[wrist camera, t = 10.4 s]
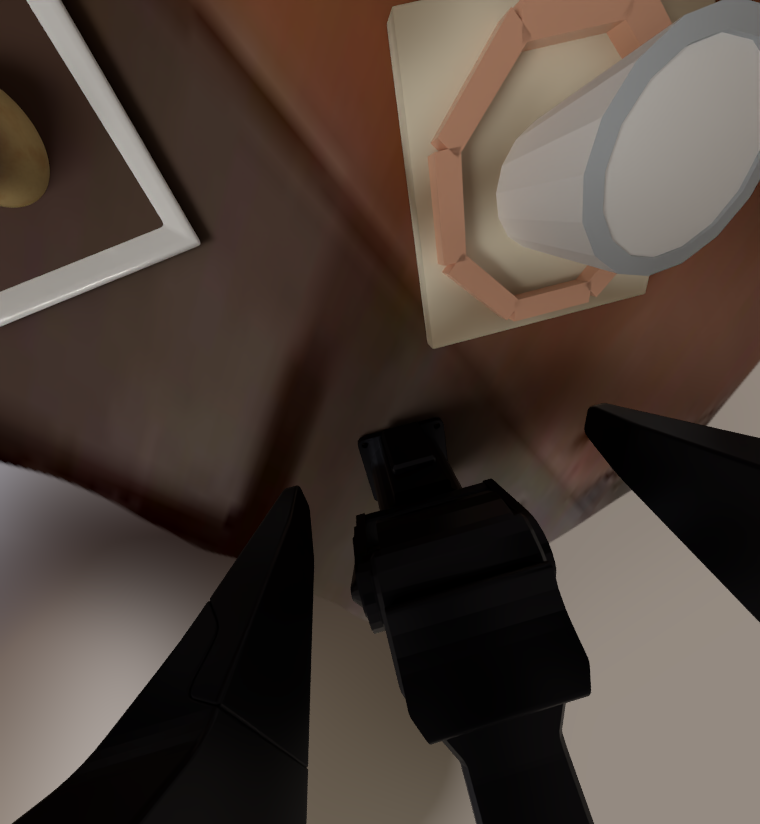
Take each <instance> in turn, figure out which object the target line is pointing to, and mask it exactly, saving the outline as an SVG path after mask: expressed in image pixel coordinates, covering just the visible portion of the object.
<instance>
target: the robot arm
mask: <svg viewBox="0 0 760 824" xmlns="http://www.w3.org/2000/svg"><path fill="white" fill-rule="evenodd" d="M436 423H438V425H436V426H434V425H435V424H436ZM584 430H585V433H586V435H587V437H588V438H589V439H590V441H591V442H592V443H593V445H594V446H595V447H596V448H597V450H598V451H599V452H600V453H601V455H602V456H603V457H604V458H605V460H606V461H607V462H608V463H609V465H610V466H611V467H612V469H613V470H614V471H615V472H616V473H617V475H618V476H619V477H620V478H621V479H622V480H623V481H624V482H625V483H626V484H627V485H628V486H629V487H630V488H631V489H632V490H633V491H634V493H636V495H637V496H638V497H639V498H640V499H641V500H642V501H643V502H644V503H645V504H646V505H647V506H648V507H649V508H650V509H651V510H652V511H653V512H654V513H655V514H656V515H657V516H658V517H659V518H660V519H661V521H662V522H663V523H664V524H665V525H666V526H668V528H669V529H670V530H671V531H672V532H673V533H674V534H675V535H676V536H677V537H678V538H679V539H680V540H681V541H682V542H683V543H684V544H685V545H686V546H687V547H688V549H689V550H690V551H691V552H692V553H693V554H694V555H695V556H696V557H697V558H698V559H699V560H700V561H701V562H702V563H703V564H704V565H705V566H706V567H707V568H708V569H709V570H710V571H711V572H712V573H713V574H714V575H715V576H716V578H717V579H719V580H720V582H721V583H722V584H723V585H724V586H725V587H726V588H727V589H728V590H729V591H730V592H731V593H732V594H733V595H734V596H735V597H736V598H737V599H738V600H739V601H740V602H741V603H742V604H743V606H744V607H745V608H746V609H747V610H748V611H749V612H750V613H751V614H752V615H753V616H754V617H755V618H756V619H757V620H758V621H759V622H760V438H757V437H753V436H748V435H744V434H739V433H735V432H731V431H726V430H722V429H717V428H712V427H708V426H704V425H700V424H695V423H691V422H686V421H682V420H677V419H673V418H669V417H664V416H660V415H655V414H651V413H647V412H642V411H638V410H633V409H629V408H624V407H620V406H616V405H611V404H607V403H601V404H597V405H594V406H591V407H590V408H589V409H588V411H587V416H586V422H585V427H584ZM363 443H367V444H366V445H362V444H363ZM358 448H359V451H360V454H361V457H362V461H363V464H364V467H365V470H366V473H367V477H368V480H369V483H370V486H371V490H372V493H373V496H374V499H375V500H376V501H378V504H379V509H380V511H377V512H373V513H370V514H366V515H365V513H363V514H360V515H356V527H354V537H353V546H354V556H355V565H354V571H353V577H352V583H351V595H352V599H353V601H354V602H356V603H357V604H358V605H360V606H361V607H362V608H363V609H364V612H365V615H366V617H367V618H368V620H369V623H370V626H371V629H372V631H373V633H379V632H382V631H386V634H387V638H388V642H389V646H390V650H391V654H392V659H393V662H394V667H395V670H396V675H397V679H398V683H399V687H400V690H401V693H402V694H403V696H404V697H405V699H406V703H407V708H408V712H409V715H410V717H411V719H412V721H413V722H414V723H415V725H416V726H417V728H418V729H419V730H420V732H421V734H422V735H423V736H424V738H425V739H426V741H427V742H428V743H429V744H434V743H437V742H440V741H443V743H444V744H445V745H446V746H447V747H448V748H449V749H450V751H451V752H452V753H453V754H454V755H455V756H456V758H457V759H458V760H459V761H460V763H461V767H462V771H463V775H464V779H465V782H466V786H467V790H468V794H469V797H470V802H471V805H472V809H473V813H474V816H475V821H476V824H594V822H593V820H592V817H591V814H590V811H589V808H588V805H587V803H586V800H585V797H584V794H583V791H582V789H581V786H580V783H579V780H578V777H577V775H576V772H575V769H574V766H573V763H572V761H571V758H570V755H569V752H568V749H567V746H566V743H565V740H564V737H563V734H562V725H563V718H564V711H565V704H566V703H567V702H570V701H574V700H577V699H580V698H583V697H586V696H589V695H590V693H591V682H590V665H589V660H588V657H587V655H586V653H585V651H584V648H583V646H582V644H581V642H580V640H579V638H578V636H577V633H576V631H575V629H574V627H573V625H572V622H571V620H570V618H569V616H568V613H567V611H566V609H565V606H564V603H563V600H562V597H561V595H560V592H559V589H558V585H557V581H556V566H555V561H554V557H553V553H552V551H551V548H550V546H549V543H548V541H547V539H546V537H545V534H544V532H543V531H542V529H541V527H540V526H539V524H538V522H537V521H536V520H535V518H534V517H533V516H532V515H531V514H530V513H529V511H528V510H526V509H525V508H524V507H523V506H522V505H521V504H520V503H519V502H517V501H516V500H515V499H514V498H513V497H512V496H511V495H510V494H508V493H507V492H506V491H505V490H504V489H503V488H502V487H501V486H499V485H498V484H497V483H496V482H495V481H494V480H493V479H488V480H484V481H483V483H479V484H475V485H472V486H468V487H465V488H462V487H461V485H460V483H459V481H458V479H457V478H456V476H455V474H454V472H453V470H452V468H451V467H450V465H449V463H448V460H447V451H446V442H445V434H444V425H443V422H442V421H441V419H440V418H432V419H428V420H424V421H420V422H417V423H411V424H407V425H404V426H400V427H396V428H392V429H389V430H385V431H383V432H380V433H376V434H372V435H369V436H365V437H362V438H360V439H359V440H358ZM313 583H314V553H313V541H312V530H311V518H310V509H309V505H308V503H307V501H306V498H305V496H304V494H303V492H302V490H301V488H300V487H299V486H293V487H289V488H286V489H284V491H283V492H282V493H281V495H280V496H279V498H278V499H277V501H276V502H275V504H274V505H273V507H272V508H271V509H270V511H269V512H268V514H267V515H266V517H265V518H264V520H263V521H262V523H261V524H260V526H259V527H258V529H257V530H256V532H255V533H254V534H253V536H252V537H251V539H250V540H249V542H248V543H247V545H246V546H245V548H244V549H243V551H242V552H241V554H240V555H239V556H238V558H237V559H236V561H235V563H234V564H233V566H232V567H231V568H230V570H229V571H228V573H227V574H226V576H225V577H224V579H223V580H222V582H221V583H220V584H219V586H218V587H217V589H216V590H215V592H214V593H213V595H212V596H211V598H210V601H208V602H207V603H206V605H205V606H204V608H203V609H202V611H201V612H200V614H199V615H198V617H197V618H196V619H195V621H194V622H193V624H192V625H191V626H190V628H189V629H188V631H187V632H186V633H185V635H184V636H183V638H182V639H181V641H180V642H179V643H178V645H177V646H176V647H175V649H174V650H173V651H172V653H171V654H170V655H169V656H168V658H167V659H166V660H165V662H164V663H163V664H162V666H161V667H160V668H159V670H158V671H157V672H156V673H155V675H154V676H153V677H152V679H151V680H150V681H149V682H148V684H147V685H146V686H145V687H144V689H143V690H142V691H141V693H140V694H139V695H138V697H137V698H136V699H135V700H134V702H133V703H132V704H131V705H130V707H129V708H128V709H127V710H126V712H125V713H124V714H123V716H122V717H121V718H120V720H119V721H118V722H117V723H116V725H115V726H114V727H113V728H112V730H111V731H110V732H109V734H108V735H107V736H106V737H105V739H104V740H103V741H102V742H101V743H100V745H99V746H98V747H97V749H96V750H95V751H94V752H93V753H92V754H91V755H90V756H89V758H88V759H87V760H86V761H85V762H84V763H83V764H82V765H81V766H80V767H79V768H78V769H77V770H76V771H75V772H74V773H73V774H72V775H71V776H70V777H69V778H68V779H67V780H66V781H65V782H63V783H62V784H61V785H60V786H59V787H58V788H57V789H55V790H54V791H53V792H52V793H51V794H50V795H48V796H47V797H46V798H44V799H43V800H42V801H40V802H39V803H38V804H37V805H35V806H34V807H33V808H31V809H30V810H29V811H28V812H26V813H25V814H24V815H22V816H21V817H20V818H18V819H17V820H16V821H15V822H13V823H12V824H306V819H307V786H308V785H307V783H308V769H307V767H308V747H309V714H310V682H311V649H312V648H311V647H312V615H313Z"/></svg>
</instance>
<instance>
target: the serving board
mask: <svg viewBox="0 0 760 824" xmlns="http://www.w3.org/2000/svg"><path fill="white" fill-rule="evenodd" d="M518 2H519V0H421V1H416V2H412V3H407V4H403V5H398V6H393V7H392V10H391V13H390V16H389V19H388V22H387V30H388V38H389V46H390V53H391V61H392V69H393V77H394V85H395V93H396V100H397V108H398V116H399V124H400V132H401V139H402V147H403V155H404V163H405V171H406V178H407V186H408V194H409V202H410V210H411V218H412V225H413V233H414V241H415V249H416V257H417V264H418V272H419V280H420V288H421V296H422V303H423V311H424V319H425V327H426V335H427V343H428V344H429V345H430V346H431V347H432V348H433V349H435V348H439V347H443V346H447V345H450V344H454V343H458V342H462V341H466V340H470V339H473V338H477V337H481V336H485V335H489V334H493V333H496V332H500V331H504V330H508V329H512V328H516V327H519V326H523V325H527V324H531V323H535V322H538V321H542V320H546V319H550V318H554V317H558V316H561V315H565V314H569V313H573V312H577V311H581V310H584V309H588V308H592V307H596V306H600V305H604V304H607V303H611V302H615V301H619V300H623V299H626V298H630V297H634V296H638V295H642V294H645V291H646V287H647V283H648V279H649V276H641V275H626V274H616V275H615V277H614V278H613V279H612V280H611V281H610V282H609V283H608V285H607V286H606V287H605V288H604V289H603V290H602V291H601V293H600V294H599V295H598V296H597V297H594V296H590V297H589V302H588V303H584V304H580V305H576V306H572V307H569V308H565V309H561V310H557V311H553V312H549V313H545V314H542V315H538V316H534V317H530V318H526V319H522V320H519V321H515V322H514V321H512V320H510V319H508V320H505V319H503V318H501V317H499V316H498V315H496V314H495V313H494V312H493V311H491V310H490V309H489V308H487V307H486V306H485V305H484V304H482V303H481V302H480V301H478V300H477V299H476V298H475V297H473V296H472V295H471V294H469V293H468V292H467V291H466V290H464V289H463V288H462V287H460V286H459V285H458V284H457V283H455V282H454V281H453V280H451V279H450V278H449V277H448V276H446V275H445V274H444V273H442V271H443V270H444V268H445V267H446V266H443V265H440V264H438V260H437V250H436V240H435V229H434V219H433V208H432V198H431V188H430V177H429V167H428V156H429V155H431V154H432V153H434V152H438V150H437V149H436V148H435V147H434V146H433V145H432V144H431V141H432V139H433V138H434V136H435V134H436V132H437V130H438V129H439V127H440V125H441V123H442V121H443V120H444V118H445V116H446V114H447V112H448V111H449V109H450V107H451V105H452V104H453V102H454V100H455V98H456V96H457V95H458V93H459V91H460V89H461V87H462V86H463V84H464V82H465V80H466V79H467V77H468V75H469V73H470V71H471V70H472V68H473V66H474V64H475V62H476V61H477V59H478V57H479V55H480V54H481V52H482V50H483V48H484V46H485V45H486V43H487V41H488V39H489V37H490V36H491V34H492V32H493V30H494V29H495V27H496V25H497V23H498V21H499V20H500V19H501V18H502V17H503V16H504V15H505V13H506V12H507V11H508V10H509V9H510V8H511V7H512V8H513V7H514V6H515V5H516V4H517V3H518ZM661 2H662V4H663V6H664V8H665V10H666V12H667V14H668V16H669V18H670V20H671V22H672V24H673V23H674V22H675V21H677V20H678V19H680V18H681V17H682V16H684V15H686V14H688V13H691V12H693V11H696V10H698V9H701V8H703V7H706V6H709V5H711V4H714V3H715V0H661ZM620 60H622V58H621V56H620V55H619V53H618V52H617V50H616V48H615V47H614V45H613V43H612V42H611V40H610V38H609V37H608V35H607V33H603V34H599V35H595V36H590V37H586V38H581V39H577V40H573V41H568V42H564V43H559V44H555V45H551V46H546V47H542V48H537V49H533V50H529V51H524V52H521V53H520V55H519V57H518V58H517V60H516V62H515V63H514V65H513V67H512V68H511V70H510V72H509V73H508V75H507V77H506V78H505V80H504V82H503V83H502V85H501V87H500V88H499V90H498V92H497V93H496V95H495V97H494V98H493V100H492V102H491V103H490V105H489V107H488V108H487V110H486V112H485V113H484V115H483V117H482V118H481V120H480V122H479V123H478V125H477V127H476V128H475V130H474V132H473V134H472V135H471V137H470V139H469V140H468V142H467V144H466V145H465V147H464V149H463V150H462V152H461V161H462V181H463V200H464V220H465V240H466V256H468V257H469V258H470V259H471V260H472V261H474V262H475V263H476V264H477V265H478V266H479V267H481V268H482V269H483V270H484V271H485V272H487V273H488V274H489V275H490V276H491V277H493V278H494V279H495V280H496V281H497V282H498V283H500V284H501V285H502V286H503V287H504V288H506V289H507V290H508V291H509V292H510V293H512V294H513V295H517V294H521V293H525V292H529V291H533V290H537V289H540V288H544V287H548V286H552V285H556V284H560V283H564V282H568V281H572V280H575V279H577V277H578V276H579V275H580V274H581V273H582V271H583V270H584V269H585V268H586V266H587V265H585V264H581V263H578V262H574V261H571V260H567V259H564V258H560V257H557V256H553V255H550V254H546V253H543V252H539V251H536V250H532V249H529V248H525V247H522V246H521V245H519V244H518V243H517V242H515V241H514V240H512V239H511V238H509V237H508V236H507V234H506V232H505V230H504V228H503V226H502V224H501V222H500V220H499V218H498V209H497V199H496V191H497V186H498V182H499V177H500V172H501V167H502V165H503V163H504V161H505V159H506V157H507V155H508V153H509V151H510V150H511V148H512V146H513V144H514V142H515V140H516V139H517V138H518V137H519V136H520V135H521V134H522V133H523V132H524V131H525V130H526V129H527V128H528V127H529V126H530V125H531V124H532V123H533V122H535V121H536V120H537V119H538V118H540V117H541V116H542V115H544V114H545V113H547V112H548V111H550V110H551V109H552V108H554V107H555V106H557V105H558V104H559V103H561V102H562V101H564V100H565V99H567V98H568V97H569V96H571V95H572V94H574V93H575V92H576V91H578V90H579V89H581V88H582V87H583V86H585V85H586V84H588V83H589V82H591V81H592V80H593V79H595V78H596V77H598V76H599V75H600V74H602V73H603V72H605V71H606V70H608V69H609V68H610V67H612V66H613V65H615V64H616V63H617V62H619V61H620Z"/></svg>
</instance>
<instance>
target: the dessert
mask: <svg viewBox="0 0 760 824" xmlns="http://www.w3.org/2000/svg"><path fill="white" fill-rule="evenodd" d="M27 2H28V3H29V5H30V7H31V8H32V10H33V12H34V13H35V15H36V16H37V18H38V20H39V21H40V23H41V25H42V26H43V28H44V29H45V31H46V33H47V34H48V36H49V38H50V39H51V41H52V42H53V44H54V46H55V47H56V49H57V51H58V52H59V54H60V55H61V57H62V59H63V60H64V62H65V64H66V65H67V67H68V68H69V70H70V72H71V73H72V75H73V77H74V78H75V80H76V81H77V83H78V85H79V86H80V88H81V90H82V91H83V93H84V94H85V96H86V98H87V99H88V101H89V103H90V104H91V106H92V107H93V109H94V111H95V112H96V114H97V116H98V117H99V119H100V120H101V122H102V124H103V125H104V127H105V129H106V130H107V132H108V133H109V135H110V137H111V138H112V140H113V142H114V143H115V145H116V146H117V148H118V150H119V151H120V153H121V155H122V156H123V158H124V159H125V161H126V163H127V164H128V166H129V167H130V169H131V171H132V172H133V174H134V176H135V177H136V179H137V180H138V182H139V184H140V185H141V187H142V189H143V190H144V192H145V193H146V195H147V197H148V198H149V200H150V202H151V203H152V205H153V206H154V208H155V210H156V211H157V213H158V215H159V216H160V218H161V219H162V221H163V226H162V228H159V229H157V230H154V231H152V232H149V233H147V234H144V235H142V236H139V237H137V238H134V239H132V240H129V241H127V242H124V243H122V244H119V245H117V246H114V247H112V248H109V249H107V250H104V251H102V252H99V253H97V254H94V255H92V256H89V257H87V258H84V259H82V260H79V261H77V262H74V263H72V264H69V265H67V266H64V267H62V268H59V269H57V270H54V271H52V272H49V273H47V274H44V275H42V276H39V277H37V278H34V279H32V280H29V281H27V282H24V283H22V284H19V285H17V286H14V287H12V288H9V289H7V290H4V291H2V292H0V327H1V326H3V325H6V324H8V323H10V322H13V321H15V320H18V319H20V318H23V317H25V316H28V315H30V314H33V313H35V312H38V311H40V310H42V309H45V308H47V307H50V306H52V305H55V304H57V303H60V302H62V301H65V300H67V299H70V298H72V297H74V296H77V295H79V294H82V293H84V292H87V291H89V290H92V289H94V288H97V287H99V286H101V285H104V284H106V283H109V282H111V281H114V280H116V279H119V278H121V277H124V276H126V275H129V274H131V273H133V272H136V271H138V270H141V269H143V268H146V267H148V266H151V265H153V264H156V263H158V262H161V261H163V260H165V259H168V258H170V257H173V256H175V255H178V254H180V253H183V252H185V251H188V250H190V249H193V248H195V247H197V246H199V245H200V240H199V238H198V237H197V235H196V233H195V231H194V230H193V228H192V226H191V224H190V223H189V221H188V219H187V217H186V216H185V214H184V212H183V211H182V209H181V207H180V205H179V204H178V202H177V200H176V198H175V197H174V195H173V193H172V192H171V190H170V188H169V186H168V185H167V183H166V181H165V179H164V178H163V176H162V174H161V172H160V171H159V169H158V167H157V166H156V164H155V162H154V160H153V159H152V157H151V155H150V153H149V152H148V150H147V148H146V146H145V145H144V143H143V141H142V140H141V138H140V136H139V134H138V133H137V131H136V129H135V127H134V126H133V124H132V122H131V121H130V119H129V117H128V115H127V114H126V112H125V110H124V108H123V107H122V105H121V103H120V101H119V100H118V98H117V96H116V95H115V93H114V91H113V89H112V88H111V86H110V84H109V82H108V81H107V79H106V77H105V75H104V74H103V72H102V70H101V69H100V67H99V65H98V63H97V62H96V60H95V58H94V56H93V55H92V53H91V51H90V50H89V48H88V46H87V44H86V43H85V41H84V39H83V37H82V36H81V34H80V32H79V30H78V29H77V27H76V25H75V24H74V22H73V20H72V18H71V17H70V15H69V13H68V11H67V10H66V8H65V6H64V4H63V3H62V1H61V0H27ZM49 177H50V167H49V160H48V156H47V153H46V150H45V147H44V144H43V142H42V140H41V138H40V136H39V134H38V132H37V130H36V129H35V127H34V125H33V124H32V122H31V121H30V119H29V118H28V117H27V115H26V114H25V113H24V112H23V110H22V109H21V108H20V107H19V106H18V105H17V104H16V103H15V102H14V101H13V100H12V99H11V98H10V97H9V96H8V95H7V94H6V93H5V92H4V91H3V90H1V89H0V206H2V207H12V208H15V207H24V206H27V205H30V204H32V203H34V202H36V201H37V200H39V199H40V198H41V197H42V195H43V194H44V193H45V191H46V189H47V186H48V183H49Z"/></svg>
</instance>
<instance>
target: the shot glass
mask: <svg viewBox="0 0 760 824" xmlns="http://www.w3.org/2000/svg"><path fill="white" fill-rule="evenodd" d="M759 180H760V3H758V2H754V1H750V0H721V1H719V2H716V3H714V4H711V5H709V6H706V7H703V8H701V9H698V10H696V11H693V12H691V13H688V14H686V15H684V16H682V17H681V18H680V19H678V20H677V21H675V22H674V23H673V24H671V25H670V26H668V27H667V28H665V29H664V30H663V31H661V32H660V33H658V34H657V35H656V36H654V37H653V38H651V39H650V40H648V41H647V42H646V43H644V44H643V45H641V46H640V47H639V48H637V49H636V50H634V51H633V52H632V53H630V54H629V55H627V56H626V57H624V58H623V59H622V60H620V61H619V62H617V63H616V64H615V65H613V66H612V67H610V68H609V69H608V70H606V71H605V72H603V73H602V74H600V75H599V76H598V77H596V78H595V79H593V80H592V81H591V82H589V83H588V84H586V85H585V86H583V87H582V88H581V89H579V90H578V91H576V92H575V93H574V94H572V95H571V96H569V97H568V98H567V99H565V100H564V101H562V102H561V103H559V104H558V105H557V106H555V107H554V108H552V109H551V110H550V111H548V112H547V113H545V114H544V115H542V116H541V117H540V118H538V119H537V120H536V121H535V122H533V123H532V124H531V125H530V126H529V127H528V128H527V129H526V130H525V131H524V132H523V133H522V134H521V135H520V136H519V137H518V138H517V139H516V140H515V142H514V144H513V146H512V148H511V150H510V151H509V153H508V155H507V157H506V159H505V161H504V163H503V165H502V167H501V172H500V177H499V182H498V186H497V191H496V199H497V209H498V218H499V220H500V222H501V224H502V226H503V228H504V230H505V232H506V234H507V236H508V237H509V238H511V239H512V240H514V241H515V242H517V243H518V244H519V245H521V246H522V247H525V248H529V249H532V250H536V251H539V252H543V253H546V254H550V255H553V256H557V257H560V258H564V259H567V260H571V261H574V262H578V263H581V264H585V265H588V266H592V267H595V268H599V269H602V270H606V271H609V272H613V273H616V274H626V275H641V276H649V275H652V274H654V273H657V272H660V271H662V270H665V269H668V268H670V267H673V266H676V265H678V264H681V263H683V262H684V261H685V260H687V259H688V258H689V257H691V256H692V255H693V254H695V253H696V252H697V251H698V250H700V249H701V248H702V247H704V246H705V245H706V244H708V243H709V242H710V241H712V240H713V239H714V238H716V237H717V236H718V235H719V233H720V232H721V231H722V230H723V229H724V227H725V226H726V225H727V224H728V223H729V222H730V220H731V219H732V218H733V217H734V216H735V214H736V213H737V212H738V211H739V210H740V208H741V207H742V206H743V205H744V204H745V202H746V201H747V200H748V199H749V198H750V196H751V194H752V193H753V191H754V189H755V187H756V185H757V183H758V182H759Z"/></svg>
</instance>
